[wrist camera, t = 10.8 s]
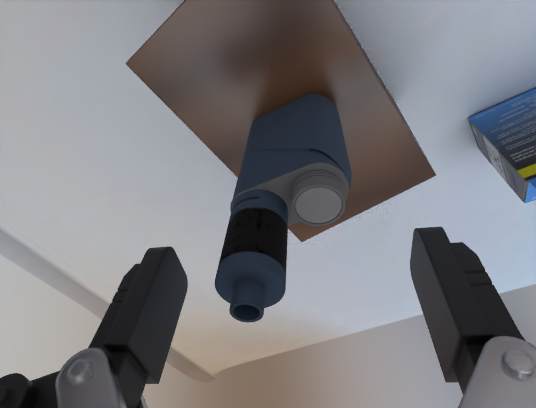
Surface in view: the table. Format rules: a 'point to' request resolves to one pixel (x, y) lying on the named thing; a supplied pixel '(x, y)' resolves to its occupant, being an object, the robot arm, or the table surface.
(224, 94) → the block
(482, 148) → the blue cardboard box
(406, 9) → the table surface
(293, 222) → the vaping device
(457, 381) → the robot arm
